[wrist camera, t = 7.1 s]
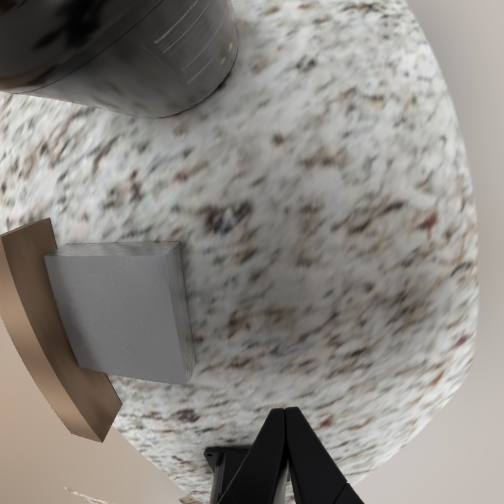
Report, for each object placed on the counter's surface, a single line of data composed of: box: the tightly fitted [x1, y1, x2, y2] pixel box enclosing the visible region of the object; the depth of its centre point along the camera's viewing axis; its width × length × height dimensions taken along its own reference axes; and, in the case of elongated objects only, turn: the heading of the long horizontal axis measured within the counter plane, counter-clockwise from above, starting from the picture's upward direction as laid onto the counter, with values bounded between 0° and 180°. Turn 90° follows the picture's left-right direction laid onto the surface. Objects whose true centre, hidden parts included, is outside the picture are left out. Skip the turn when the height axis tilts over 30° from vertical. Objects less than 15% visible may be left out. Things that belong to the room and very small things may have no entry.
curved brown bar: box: [0, 218, 122, 443], centre depth 13 cm, size 14×3×4 cm, turn 8°
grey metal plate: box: [44, 241, 196, 385], centre depth 13 cm, size 7×7×2 cm
